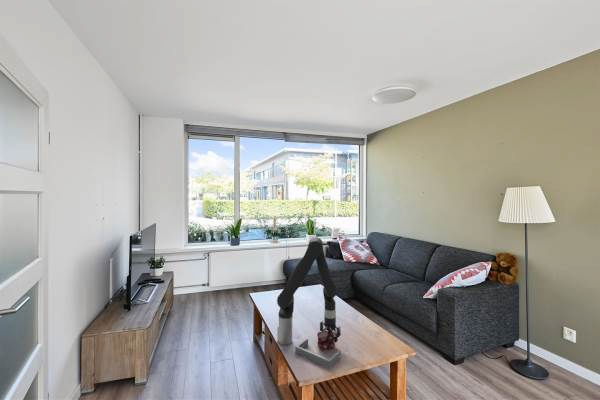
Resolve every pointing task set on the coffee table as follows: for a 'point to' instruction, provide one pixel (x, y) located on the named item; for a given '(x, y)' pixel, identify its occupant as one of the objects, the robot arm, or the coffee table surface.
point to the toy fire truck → (326, 339)
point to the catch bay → (315, 357)
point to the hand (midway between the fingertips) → (330, 339)
